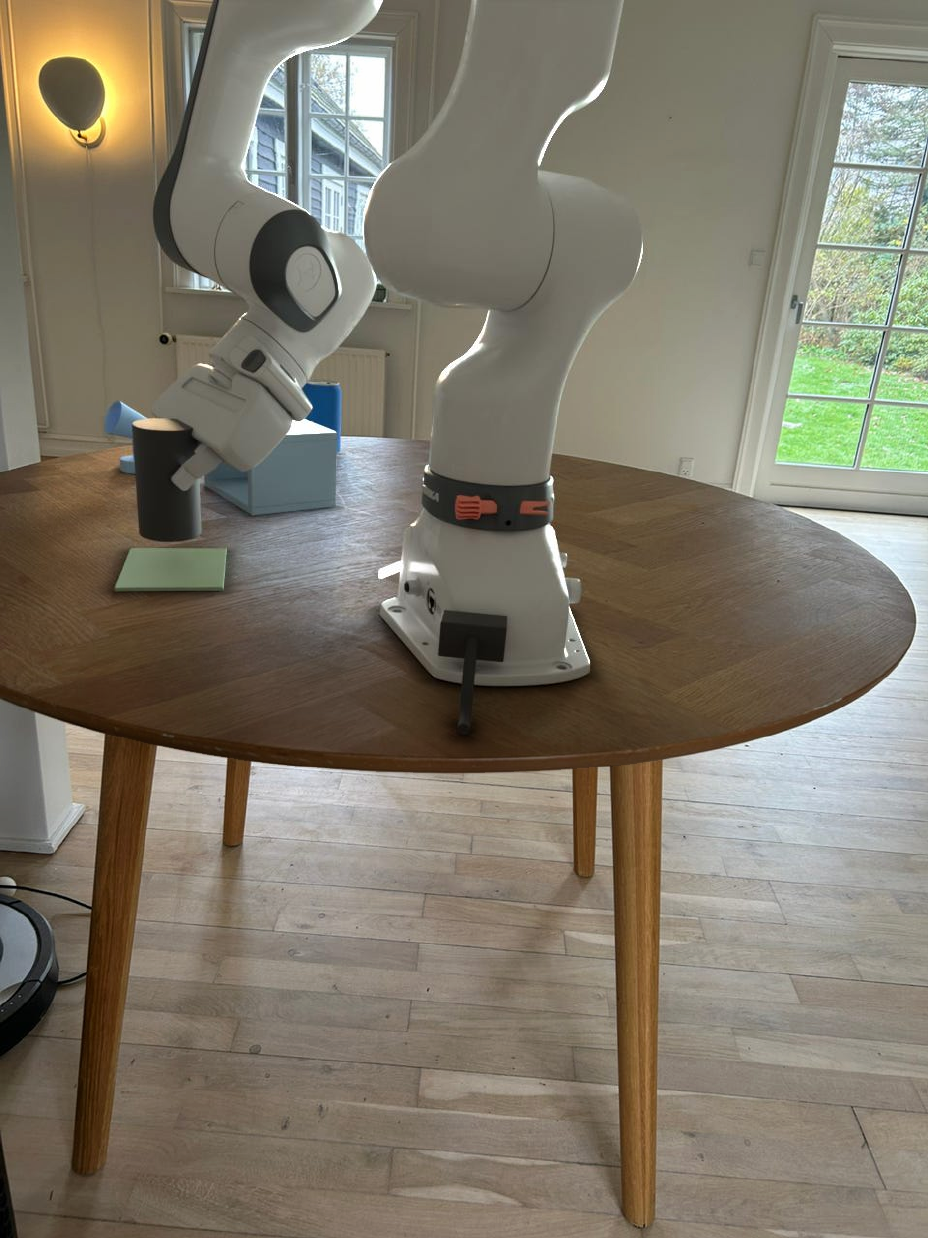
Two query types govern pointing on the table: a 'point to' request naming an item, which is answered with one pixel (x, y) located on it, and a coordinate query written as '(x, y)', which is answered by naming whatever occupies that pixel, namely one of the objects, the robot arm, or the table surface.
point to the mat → (173, 569)
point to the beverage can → (325, 404)
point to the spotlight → (122, 429)
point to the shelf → (284, 474)
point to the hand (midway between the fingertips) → (162, 475)
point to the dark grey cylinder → (165, 480)
